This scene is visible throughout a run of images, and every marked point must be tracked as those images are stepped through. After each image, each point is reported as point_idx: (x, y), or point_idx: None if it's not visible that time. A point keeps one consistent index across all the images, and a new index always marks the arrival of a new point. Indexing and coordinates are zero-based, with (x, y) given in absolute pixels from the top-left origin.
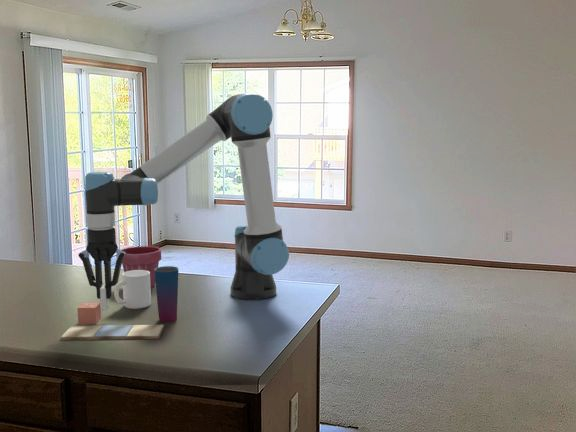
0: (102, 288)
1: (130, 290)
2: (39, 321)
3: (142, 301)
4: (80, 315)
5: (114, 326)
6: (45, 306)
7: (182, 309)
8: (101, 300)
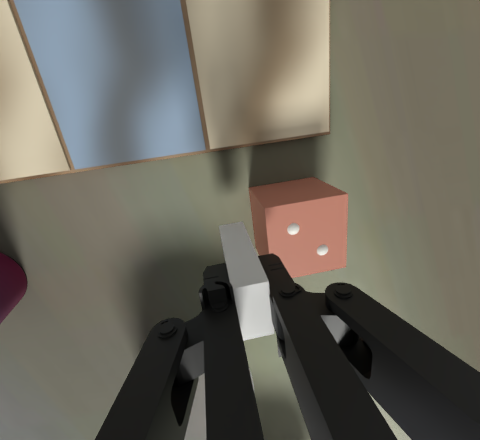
0: (251, 285)
1: (192, 414)
2: (449, 193)
3: None
4: (319, 187)
5: (147, 140)
6: (455, 317)
7: (7, 381)
8: (246, 243)
